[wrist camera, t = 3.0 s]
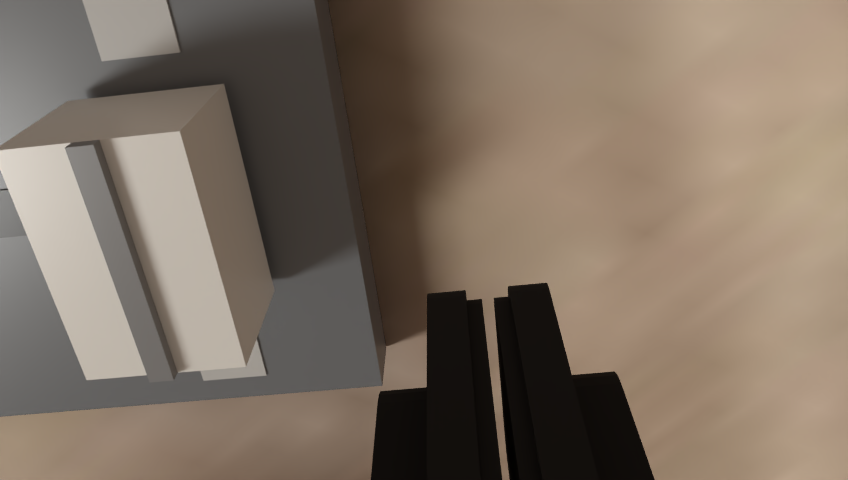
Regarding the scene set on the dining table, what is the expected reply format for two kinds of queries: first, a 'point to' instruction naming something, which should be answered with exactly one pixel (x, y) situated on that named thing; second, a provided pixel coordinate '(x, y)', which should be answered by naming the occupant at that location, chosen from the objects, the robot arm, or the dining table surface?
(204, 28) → the fader console
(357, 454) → the dining table surface
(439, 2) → the dining table surface
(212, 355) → the fader knob
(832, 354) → the dining table surface
